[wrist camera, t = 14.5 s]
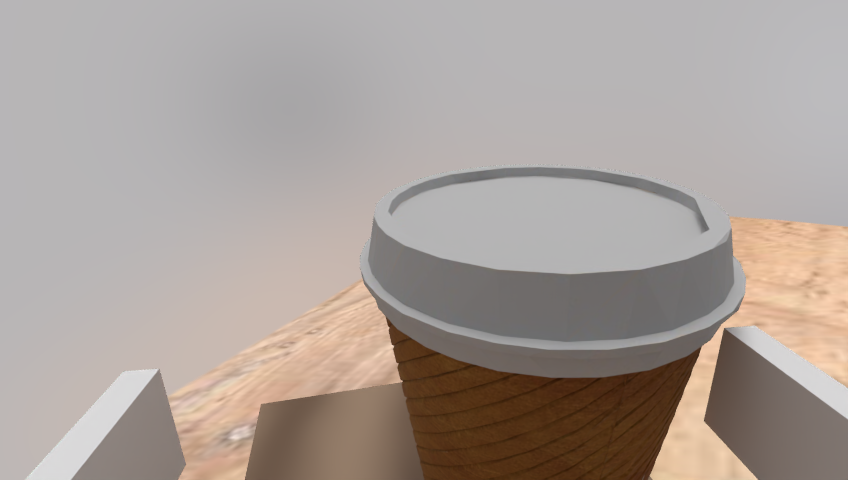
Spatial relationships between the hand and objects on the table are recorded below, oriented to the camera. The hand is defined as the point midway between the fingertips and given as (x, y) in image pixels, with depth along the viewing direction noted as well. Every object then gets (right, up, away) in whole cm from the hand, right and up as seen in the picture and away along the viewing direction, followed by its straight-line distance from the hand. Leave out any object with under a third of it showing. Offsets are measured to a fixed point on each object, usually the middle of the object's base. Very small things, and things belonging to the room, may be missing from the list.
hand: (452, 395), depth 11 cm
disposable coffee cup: (+3, -7, +6) cm, 9 cm away
